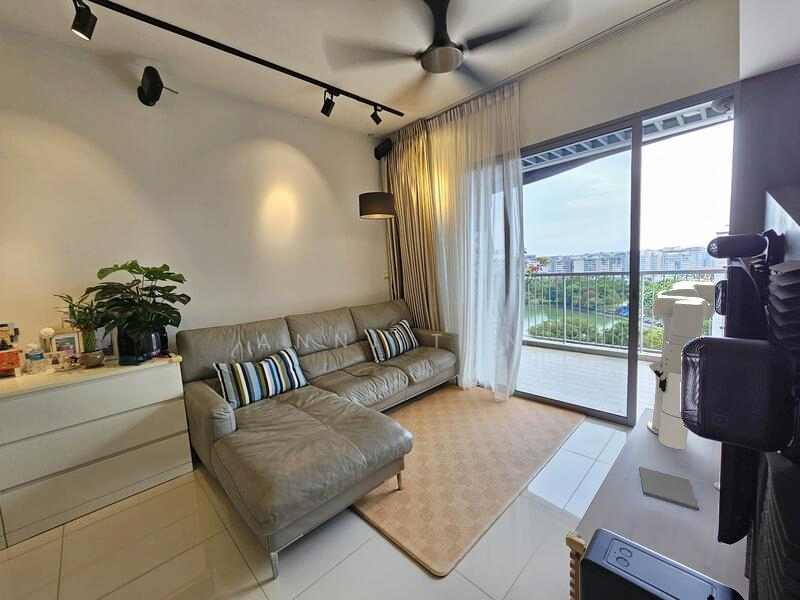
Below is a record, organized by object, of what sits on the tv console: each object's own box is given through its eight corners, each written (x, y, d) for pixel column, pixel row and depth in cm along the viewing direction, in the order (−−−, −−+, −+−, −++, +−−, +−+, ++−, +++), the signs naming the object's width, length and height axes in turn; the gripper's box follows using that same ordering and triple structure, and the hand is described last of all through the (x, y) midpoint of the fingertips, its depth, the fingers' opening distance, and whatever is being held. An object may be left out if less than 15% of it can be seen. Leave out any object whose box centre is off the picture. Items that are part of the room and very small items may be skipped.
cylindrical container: (691, 450, 105) (701, 376, 100) (666, 448, 106) (674, 375, 102) (677, 437, 112) (686, 367, 107) (653, 435, 113) (661, 366, 109)
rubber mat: (639, 468, 121) (639, 466, 121) (688, 481, 114) (688, 479, 114) (643, 493, 109) (643, 491, 109) (698, 509, 102) (699, 507, 102)
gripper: (718, 340, 101) (710, 393, 104) (648, 333, 110) (643, 383, 113) (726, 347, 95) (717, 404, 98) (651, 339, 104) (646, 391, 107)
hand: (678, 392), depth 106 cm, fingers closed on cylindrical container, 7 cm apart
